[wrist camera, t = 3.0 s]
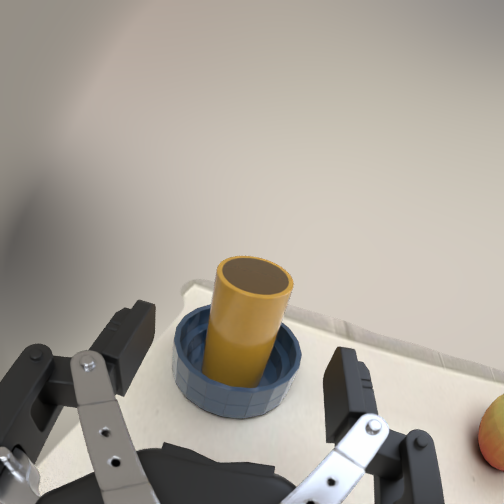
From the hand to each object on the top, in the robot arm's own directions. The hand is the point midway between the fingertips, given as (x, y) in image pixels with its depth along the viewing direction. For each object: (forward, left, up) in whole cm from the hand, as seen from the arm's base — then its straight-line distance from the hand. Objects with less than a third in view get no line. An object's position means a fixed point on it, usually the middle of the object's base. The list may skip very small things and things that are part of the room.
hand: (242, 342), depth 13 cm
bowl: (+2, +11, -15) cm, 18 cm away
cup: (+2, +11, -14) cm, 18 cm away
